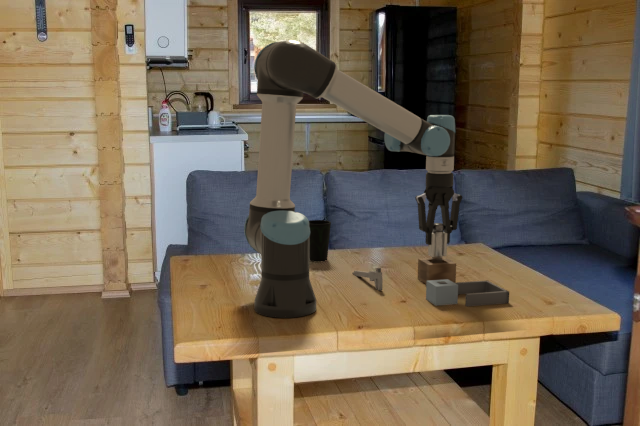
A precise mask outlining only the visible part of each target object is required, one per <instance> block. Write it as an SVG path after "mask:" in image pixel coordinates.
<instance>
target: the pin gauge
mask: <svg viewBox="0 0 640 426" xmlns="http://www.w3.org/2000/svg"><path fill="white" fill-rule="evenodd" d="M443 232H444V224H443V222H434V226H433V232H432V233H434V234H435V254H434V257H431V258H432V263H443V257H444V256H443Z"/></svg>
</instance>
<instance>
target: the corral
mask: <svg viewBox="0 0 640 426" xmlns="http://www.w3.org/2000/svg"><path fill="white" fill-rule="evenodd" d="M455 284H457V285H458V295H465V307H474V306H475V307H476V306H489V305H500V304H502V305H503V304H504V305H505V304H509V303H510V291H509V290H508V289H505V288H504V287H501V286H500V285H498V284H495V283H493V282H491V281H489V280H488V279H487V280H475V281H474V280H473V281H461V282H460V281H459V282H457V281H456V283H455Z"/></svg>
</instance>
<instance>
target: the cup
mask: <svg viewBox="0 0 640 426" xmlns="http://www.w3.org/2000/svg"><path fill="white" fill-rule="evenodd" d="M331 226H332V222H331V221H329V220H324V219H312V220H309V227H310V247H309V261H310V260H311V262H314V261H316V262H319V263H320V262H321V261H323V262H326V261H325V260H328V255H329V254H328V253H329V248H330V247H329V246H330V244H329V243H330V235H331Z"/></svg>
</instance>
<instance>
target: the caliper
mask: <svg viewBox="0 0 640 426" xmlns="http://www.w3.org/2000/svg"><path fill="white" fill-rule="evenodd" d="M352 274H353V275H354V276H356V277H362V278H369V281H370V282H373V283H374V287H375V290H376V291H379V292H380V291H383V283H384V282H383V281H384V280H383V272H382V269H381V267H376V268H375V271H374V270H369V271H363V270H354V271H353V272H352Z"/></svg>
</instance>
